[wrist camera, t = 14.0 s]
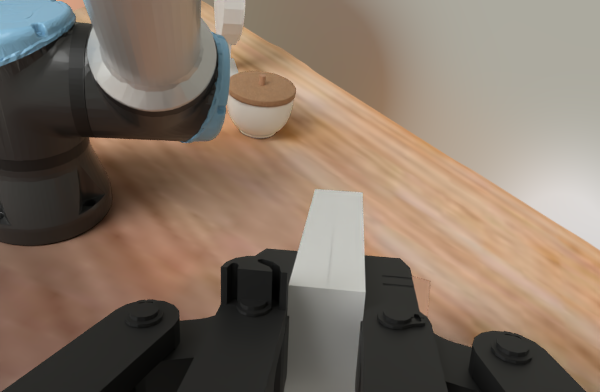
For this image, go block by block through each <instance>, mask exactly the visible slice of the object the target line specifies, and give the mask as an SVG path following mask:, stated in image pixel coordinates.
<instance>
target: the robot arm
mask: <svg viewBox="0 0 600 392" xmlns="http://www.w3.org/2000/svg"><path fill="white" fill-rule="evenodd" d="M83 1H84V4H85V7H86V9H87V12H88V15H89V17H90V20H91V23H92V24H89V23H79V22H75V21H76V16H75V14H74V13H73V12H72V9H71V7H70V6H68V5H67V4H66V3H64V2H61V1H56V0H0V241H1V242H4V243H9V244H16V245H42V244H49V243H54V242H59V241H63V240H66V239H69V238H72V237H75V236H77V235H79V234H81V233H83V232H85V231H87V230H89V229H90V228H92V227H93V226H95V225H96V224H97V223H99V222H100V221H101V220H102V219H103V218H104V216H105V215H106V214H107V212H108V211H109V209H110V206H111V203H112V193H111V184H110V180H109V177H108V175H107V173H106V171H105V170H104V168H103V166H102V164H101V162H100V160H99V159H98V157H97V155H96V153H95V151H94V150H93V148H92V146H91V144H90V140H89V137H95V138H120V139H143V140H166V141H180V142H182V143H192V142H194V141H210V140H212V139H214V138H215V137H216V136H217V135H218V134H219V132H220V131H221V128H222V126H223V123H224V119H225V114H226V107H225V106H226V105H227V101H228V95H229V84H230V51H229V46H228V43H227V41H226V39H225V38H224V37H223V36H222V35H219V34H215V33H213V32H211V31H210V29H209V27H208V26H207V24H206V23H205V22H204V21H203V19H202V18H201V0H83ZM2 392H586V391H585V390H584V389H583V388H582V387H581V386H580V385H579V384H578V383H577V382H576V381H575V380H574V379H573V378H572V377H571V376H570V375H569V374H568V373H567V372H566V371H565V370H564V369H563V368H562V367H561V366H560V365H559V364H558V363H557V362H556V361H555V360H554V359H553V358H552V357H551V356H550V355H549V354H548V353H547V351H546V350H544V349H543V348H542V347H540V346H539V345H538V344H537V343H535V342H533V341H531V340H529V339H527V338H525V337H523V336H521V335H518V334H515V333H514V334H513V333H511V332H506V331H504V332H500V331H490V332H484V333H481V334H479V335H478V336H476V337H475V338H474V341H473V345H472V348H471V347H468V346H464V345H461V344H457V343H454V342H451V341H448V340H446V339H443V338H441V337H439V336H438V335H436V334H434V333H433V329H432V325H431V323H430V321H429V319H428V318H427V316H425V315H424V314H422V313H421V312H420V310H419V306H418V301H417V297H416V292H415V288H414V284H413V280H412V275H411V270H410V267H409V266H407V265H406V264H405V263H404V262H403V261H402V260H401V259H400V258H388V257H376V256H365V255H364V223H363V192H350V191H336V190H323V189H315V192H314V195H313V199H312V203H311V206H310V210H309V213H308V217H307V221H306V224H305V228H304V231H303V235H302V239H301V242H300V246H299V249H298V251H289V250H277V249H265V250H264V251H262V252H260V253H259V254H257V255H256V256H245V257H239V258H235V259H232V260H230V261H227V262H226V263H225V264H224V265H223V266H222V267H221V305H220V307H219V309H218V311H217V313H216V315H215V316H212V317H208V318H203V319H196V320H184V321H179V310H178V309H177V308H176V307H175V306H174V305H172V304H170V303H167V302H165V301H157V300H139V301H137V302H133V303H130V304H126V305H124V306H122V307H120V308H119V309H117V310H115V311H114V312H112V313H111V314H109V315H108V316H107V317H105V318H104V319H102V320H101V321H100V322H98V323H97V324H95V325H94V326H93V327H91V328H90V329H88V330H87V331H86V332H84V333H83V334H81V335H80V336H79V337H77V338H76V339H75V340H73V341H72V342H70V343H69V344H68V345H66V346H65V347H63V348H62V349H61V350H59V351H58V352H56V353H55V354H54V355H52V356H51V357H49V358H48V359H47V360H45V361H44V362H42V363H41V364H40V365H38V366H37V367H35V368H34V369H33V370H31V371H30V372H28V373H27V374H26V375H24V376H23V377H21V378H20V379H19V380H17V381H16V382H14V383H13V384H12V385H10V386H9V387H7V388H6V389H5V390H3V391H2Z"/></svg>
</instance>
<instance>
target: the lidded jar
mask: <svg viewBox="0 0 600 392" xmlns="http://www.w3.org/2000/svg"><path fill="white" fill-rule="evenodd" d="M295 94H296V88H295V86H294V85H293V83H292V82H291V81H289V80H288V79H286V78H284V77H282V76H280V75H276V74H273V73H269V72H262V71H246V72H240V73H237V74H234V75H232V76H231V77H230V84H229V95H228V101H227V107H228V112H229V115H230V118H231V120H232V121H233V123H234V124H235V125H236V126H237V127H238V128H239V130H240V132H241V133H243V134H244V135H246V136H249V137H252V138H268V137H271V136H273V135H274V134H275V133H276V132H277V131H279V130H280V129H281V128H282V127H283V126H284V125H285V124H286V122H287V121H288V119H289V117H290V114H291V111H292V107H293V102H294V98H295Z"/></svg>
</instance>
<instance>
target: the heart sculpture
mask: <svg viewBox="0 0 600 392" xmlns="http://www.w3.org/2000/svg"><path fill="white" fill-rule="evenodd" d="M214 13H215V27H216V34H219V35H222V36H223V37H224V38H225V39H226V41H227V43H228V46H229V51H230V77H231V76H232V75H234V74H237V73H238V70H237V67H236V64H235V61H234V59H233V58H231V45H236V43H237V42H238V41H239V39H240V37H241V34H242V29H243V24H244V14H245V0H214Z"/></svg>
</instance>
